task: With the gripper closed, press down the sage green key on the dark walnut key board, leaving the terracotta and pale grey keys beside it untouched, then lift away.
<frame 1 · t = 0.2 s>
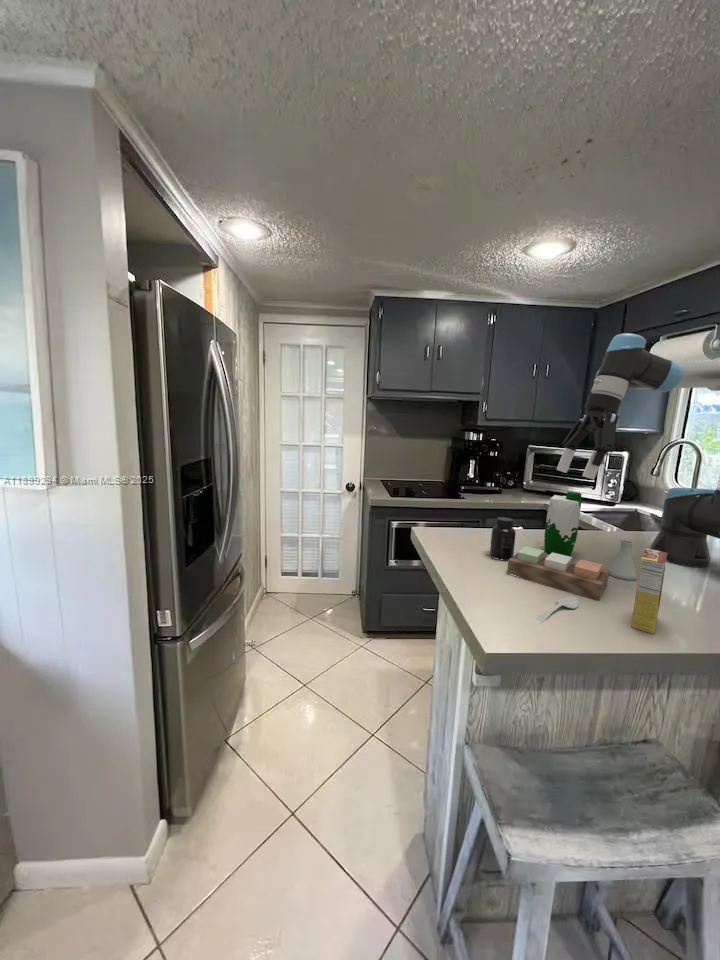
hand: (573, 474, 104), 28 cm above the table, tool tilted 15°, fingers open, 13 cm apart
sage key: (530, 558, 109), point 4 cm above the table, slide at 0.0 cm
milk carton: (558, 553, 126), on the table
flask: (621, 576, 110), on the table
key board: (555, 579, 105), on the table
supplement bottle: (500, 557, 120), on the table
terracotta key: (587, 572, 100), point 4 cm above the table, slide at 0.0 cm
candy box: (643, 623, 84), on the table
spoon: (551, 615, 87), on the table
grey key: (557, 565, 104), point 4 cm above the table, slide at 0.0 cm
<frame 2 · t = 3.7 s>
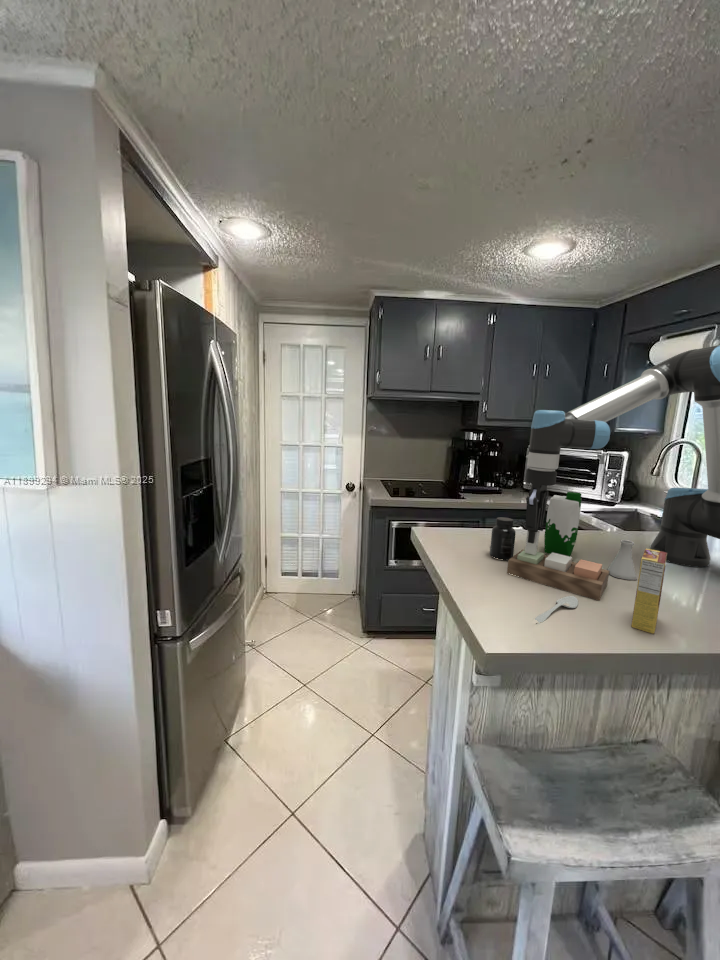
hand: (530, 553, 108), 5 cm above the table, tool pointing down, fingers closed
sage key: (530, 560, 109), point 3 cm above the table, slide at 0.8 cm, touching gripper
everything else where it was.
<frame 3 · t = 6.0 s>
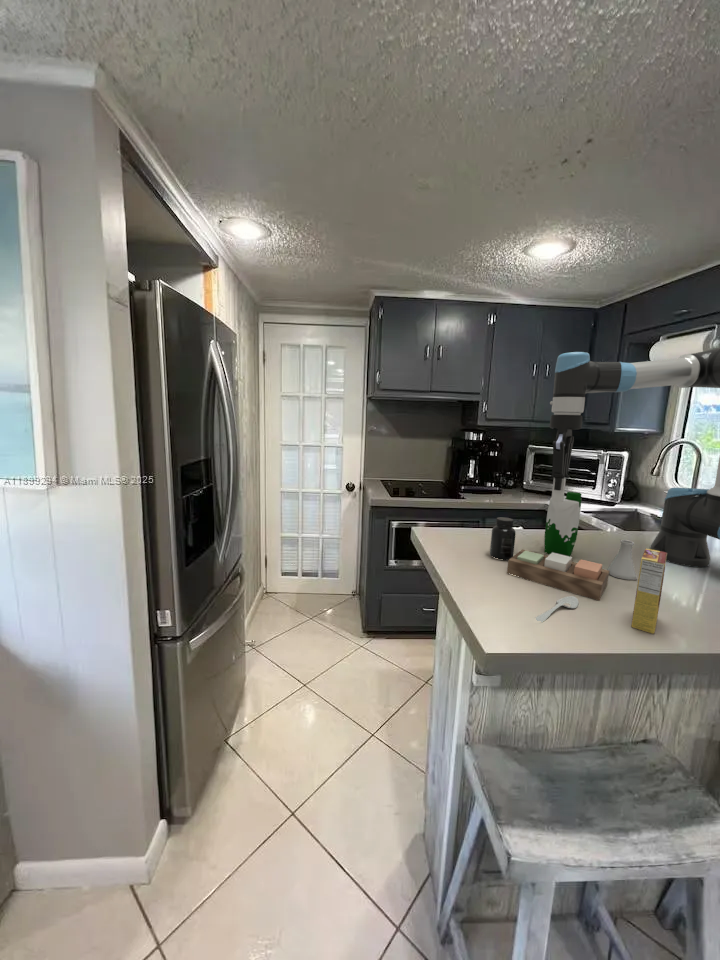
hand: (557, 501, 107), 20 cm above the table, tool pointing down, fingers closed
sage key: (530, 562, 109), point 3 cm above the table, slide at 1.3 cm
everything else where it was.
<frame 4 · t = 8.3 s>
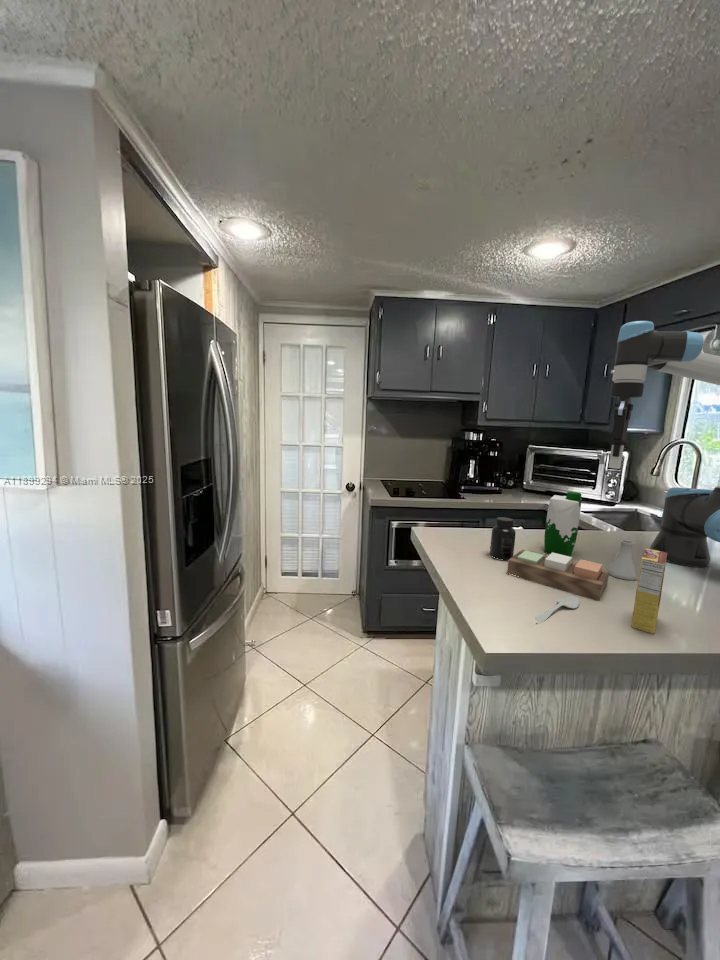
hand: (614, 467, 111), 29 cm above the table, tool pointing down, fingers closed
nothing on the table moved.
at the end: sage key slide at 1.3 cm; grey key slide at 0.0 cm; terracotta key slide at 0.0 cm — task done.
